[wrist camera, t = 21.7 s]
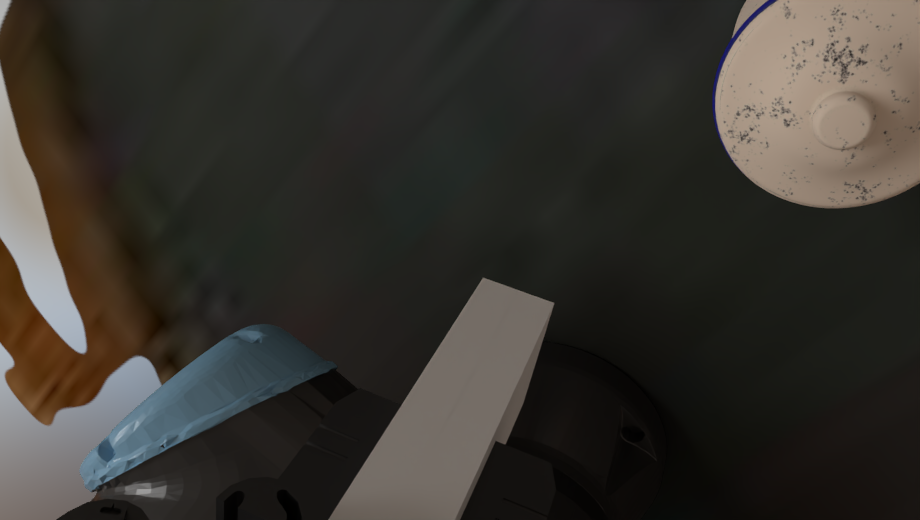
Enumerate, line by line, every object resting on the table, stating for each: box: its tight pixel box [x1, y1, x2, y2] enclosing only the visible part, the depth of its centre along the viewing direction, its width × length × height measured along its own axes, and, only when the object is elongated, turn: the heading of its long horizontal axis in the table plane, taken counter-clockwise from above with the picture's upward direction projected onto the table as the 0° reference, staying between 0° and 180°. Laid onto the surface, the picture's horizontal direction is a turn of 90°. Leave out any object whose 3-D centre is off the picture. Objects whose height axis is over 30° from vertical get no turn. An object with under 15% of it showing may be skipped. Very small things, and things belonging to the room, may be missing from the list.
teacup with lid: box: [713, 0, 920, 208], centre depth 31 cm, size 12×9×12 cm
